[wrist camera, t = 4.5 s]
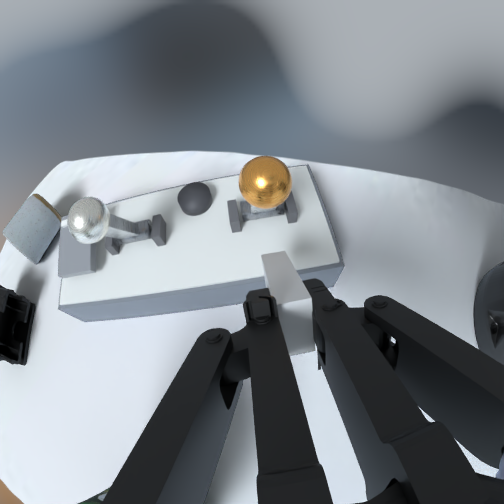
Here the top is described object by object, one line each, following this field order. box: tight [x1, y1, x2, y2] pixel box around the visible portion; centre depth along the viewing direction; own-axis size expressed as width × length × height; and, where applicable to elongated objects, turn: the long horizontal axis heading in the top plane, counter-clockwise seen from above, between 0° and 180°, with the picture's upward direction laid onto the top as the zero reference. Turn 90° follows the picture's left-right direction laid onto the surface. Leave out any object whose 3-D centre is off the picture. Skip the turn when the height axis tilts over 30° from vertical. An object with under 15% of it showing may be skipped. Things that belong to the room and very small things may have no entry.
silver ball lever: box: [67, 197, 152, 246], centre depth 19 cm, size 3×4×10 cm
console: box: [58, 165, 344, 322], centre depth 26 cm, size 12×28×7 cm, turn 98°
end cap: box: [0, 285, 36, 365], centre depth 23 cm, size 10×7×7 cm
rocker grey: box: [58, 215, 96, 278], centre depth 23 cm, size 6×4×1 cm
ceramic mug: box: [3, 194, 62, 264], centre depth 30 cm, size 11×8×8 cm
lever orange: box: [239, 156, 292, 222], centre depth 19 cm, size 3×4×10 cm
